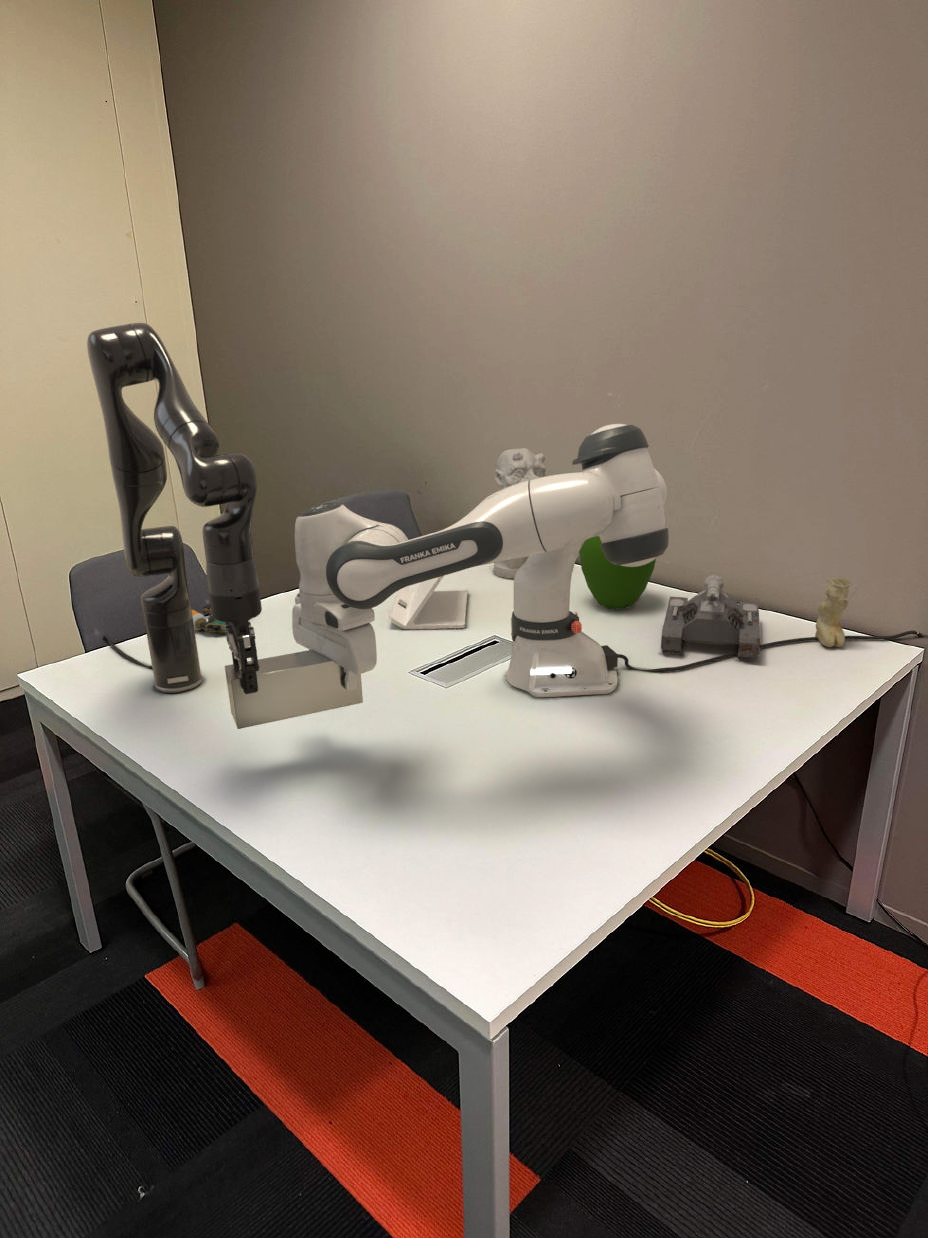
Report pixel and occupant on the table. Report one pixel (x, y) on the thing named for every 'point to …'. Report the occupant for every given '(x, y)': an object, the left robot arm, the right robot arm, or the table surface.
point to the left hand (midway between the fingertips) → (246, 681)
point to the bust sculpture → (509, 472)
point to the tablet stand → (429, 607)
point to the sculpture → (832, 613)
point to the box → (289, 688)
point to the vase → (612, 577)
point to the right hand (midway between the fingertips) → (335, 681)
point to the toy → (712, 621)
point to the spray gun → (212, 623)
